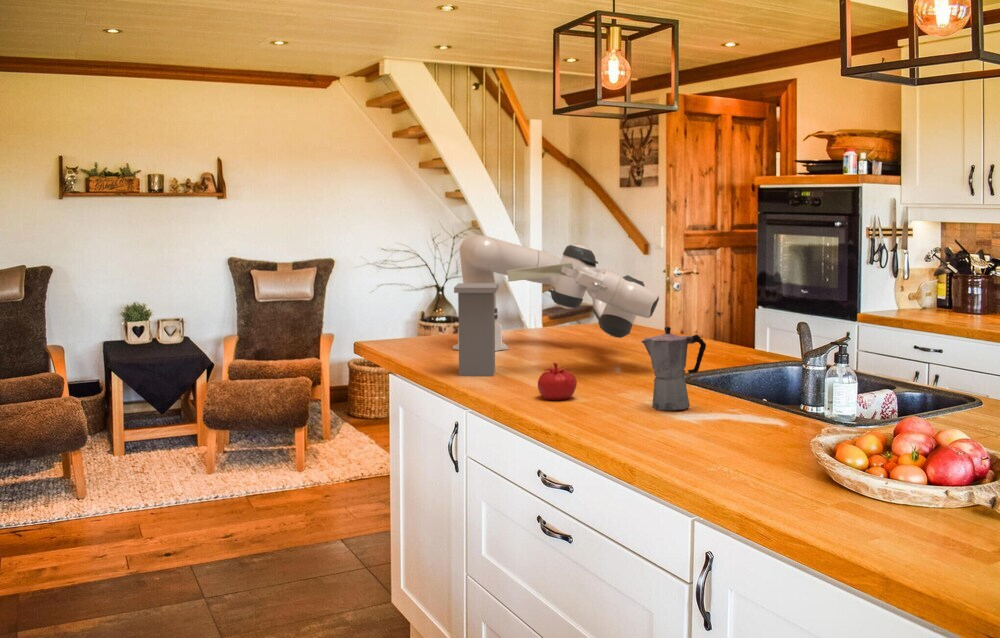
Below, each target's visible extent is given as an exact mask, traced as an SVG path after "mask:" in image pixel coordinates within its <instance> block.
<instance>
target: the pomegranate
mask: <svg viewBox="0 0 1000 638" xmlns="http://www.w3.org/2000/svg"><path fill="white" fill-rule="evenodd" d="M552 364H553V367H554V368H552V367H549V368H546V369H544V371H545V372H542V374H541V375H540V376H539V378H538V381H537V389H538V393H539V394H540V396H541V397H542V398H543V399H545V400H547V401H560V400H561V401H562V400H569V399H570V398H572V396H573V395H574V393H575V392H576V390H577V384H578V380H577V379H576V376H575V375H574V374H573V373H572V372H571V369H568V368H563V367H562V366H561V367H559V368H558V362H553V363H552ZM567 370H568V371H567Z"/></svg>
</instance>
